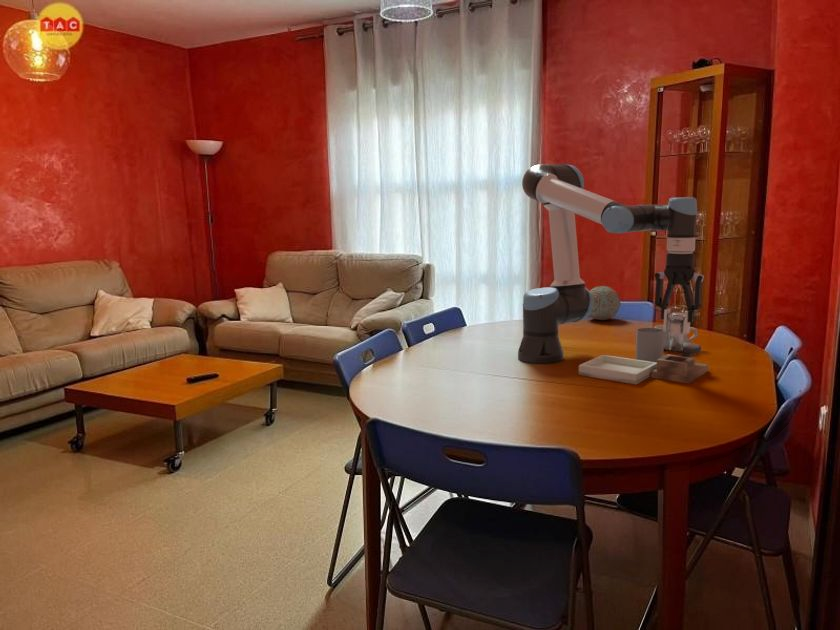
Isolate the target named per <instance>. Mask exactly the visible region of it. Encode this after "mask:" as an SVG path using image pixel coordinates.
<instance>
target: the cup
mask: <svg viewBox="0 0 840 630" xmlns="http://www.w3.org/2000/svg"><path fill="white" fill-rule="evenodd" d="M635 335H636V338H635V339H636V341H635V359H636V360H643V361H650V362H657V359H659V358H661V357H663V356H664V350H665V349H664V331H663V330H662V329H659V328H655V327H640V328H639V327H638V328H637V329H636V334H635Z"/></svg>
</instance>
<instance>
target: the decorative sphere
mask: <svg viewBox="0 0 840 630" xmlns="http://www.w3.org/2000/svg"><path fill="white" fill-rule="evenodd" d="M589 291H590V293H591V294H592V296H593V302H594V303H593V309H592V311H591V313H590V314H589V316H590V317H591V318H593V319H595V320H597V321H606V320H607V321H608V320H610V319H612V318H613V317H615V316H616V315H617V313H618V312H619V310H620V307H621V297H620V296H619V294H618V292H617V291H616V290H615V289H613V288H612V287H610V286H607V285H598V286H595V287H593V288H592V289H590V290H589Z"/></svg>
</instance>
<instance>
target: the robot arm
mask: <svg viewBox="0 0 840 630" xmlns="http://www.w3.org/2000/svg"><path fill="white" fill-rule="evenodd" d="M521 184H522V189H523V192H524V193H525V194H526V196H527V197H529V199H532V200H534V201H536V202H539V203H541V204H543V207H544V208H545V209H546V210H547V212H548V220H549V232H550V243H551V245H550V246H551V254H552V267H553V268H552V269H553V278H554V280H553V281H552V283H551V284H550V286H549V287H548V286H547V287H546V286H545V287H541V288H540V287H538V288H533V289H530V290H528V291H526V292H525V293H524V295H523V297H522V299H523V300H522V301H523V302H522V328H523V329H522V333H523V334H522V339H521V341H520V345H519V348H518V351H517V358H518V360H519V361H522V362H526V363H528V364H530V363H531V364H554V363H558V362H562V361H563V360H564V356H565V354H564V349H563V347H562V343H561V340H560V335H559V326H560V325H565V324H569V323H577V322H579V321H583V320H585V319H587V317H589V316H590V315H589V314H590V313H591V311H592V309H593V303H594V302H593V296H592V294H591V293H590V290H589V289H588V288H587V287H586V282H585V281H584V280H583V279H582V278H581V276H580V263H579V262H580V261H579V252H578V251H579V250H578V239H577V227H576V215H578V216H580V217H583V218H585V219H587V220H590V221H593V222H595V223H598V225H599V224H600V225H602V227H603V228H604V229H605V231H606V232H608V233H611V234H624V233H633V232H647V231H663V232H664V231H665V232H667V233H666V251H667V253H666V255H665V267H664V270H663V271H659V272H655V273H654V277H655V282H656V283H655V295H654V306H655V307H659V309H661V311H660V318H661V320H663V325H664V328H663V331H665V332H666V331H668V330H669V323H670V320H668V313H671V308H669V304H670V301H671V299H672V296H673V292H674V289H675V287H676V285H679V286H681V288H682V291H683V294H684V295H683V296H684V300H685V305H686V309H687V310H685V311H684V313H685V318H684V334H687V333H688V334H690V332H691V330H690V327H691V323H693V322H694V320H695V311H698V310H700V309H702V304H703V303H702V301H703V282H704V281H705V278H706V275H705V274H699V273H697V272H696V270H695V253H694V252H695V251H696V231H697V230H696V228H697V218H698V201H697V198H696V197H693V196H692V197H691V196H690V197H689V196H686V197H671V198H669V200H668V203H667V204H647V203H646V204H645V203H644V204H635V205H627V204H623V203H620V202H619V201H615V200H613V199H610V198H608V197H605V196H602V195H600V194H597V193H595V192H592V191H589V190H587V189H584V188H585V180H584V176H583V174H582V172H581V171H580V169H579V168H577V167H576V166H575V165H571V164H566V163H553V164H552V163H537V164H535V165H533V166H531V167H530V168H529V169H527V170H526V171H525V173H524V174H523V177H522V182H521ZM575 214H576V215H575ZM665 278H666V279H667V285H666V289H665V293H664V292H663V291H664V279H665ZM692 279H694V296H693V294H692V293H693V292H692V288H691V280H692ZM663 293H664V296H663ZM693 297H694V299H693Z"/></svg>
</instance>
